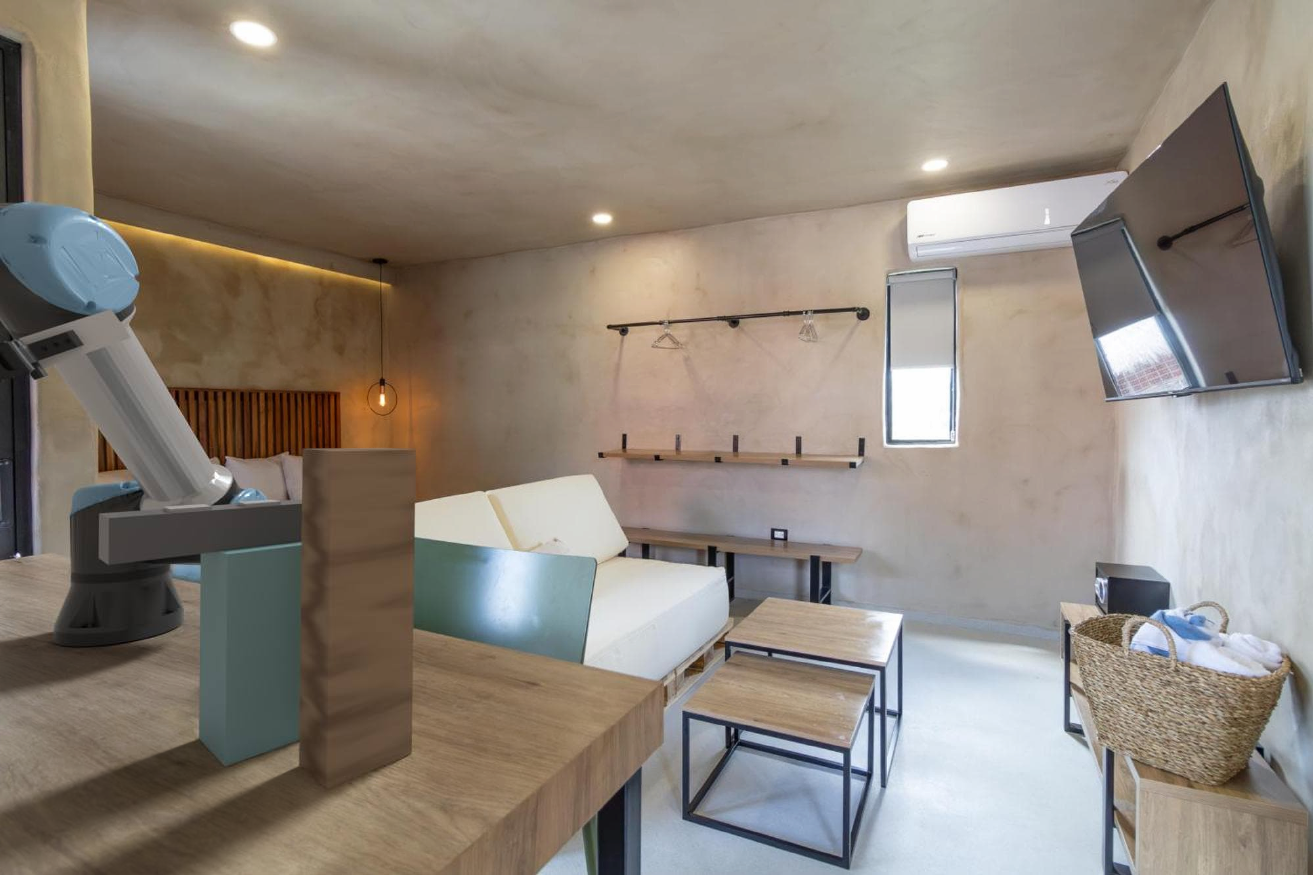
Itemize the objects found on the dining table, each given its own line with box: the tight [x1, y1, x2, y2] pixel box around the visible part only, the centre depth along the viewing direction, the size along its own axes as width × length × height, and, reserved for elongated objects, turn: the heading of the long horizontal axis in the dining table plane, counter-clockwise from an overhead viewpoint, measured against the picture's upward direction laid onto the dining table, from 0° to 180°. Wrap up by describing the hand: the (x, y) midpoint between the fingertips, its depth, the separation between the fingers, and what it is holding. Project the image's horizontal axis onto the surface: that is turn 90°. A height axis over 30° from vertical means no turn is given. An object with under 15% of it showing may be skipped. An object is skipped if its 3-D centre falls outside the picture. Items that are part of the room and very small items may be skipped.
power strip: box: [99, 498, 302, 565], centre depth 62 cm, size 4×22×4 cm, turn 141°
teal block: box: [198, 542, 302, 767], centre depth 64 cm, size 8×10×20 cm
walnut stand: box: [298, 447, 417, 790], centre depth 59 cm, size 6×8×30 cm
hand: (104, 329), depth 59 cm, fingers open, 13 cm apart
